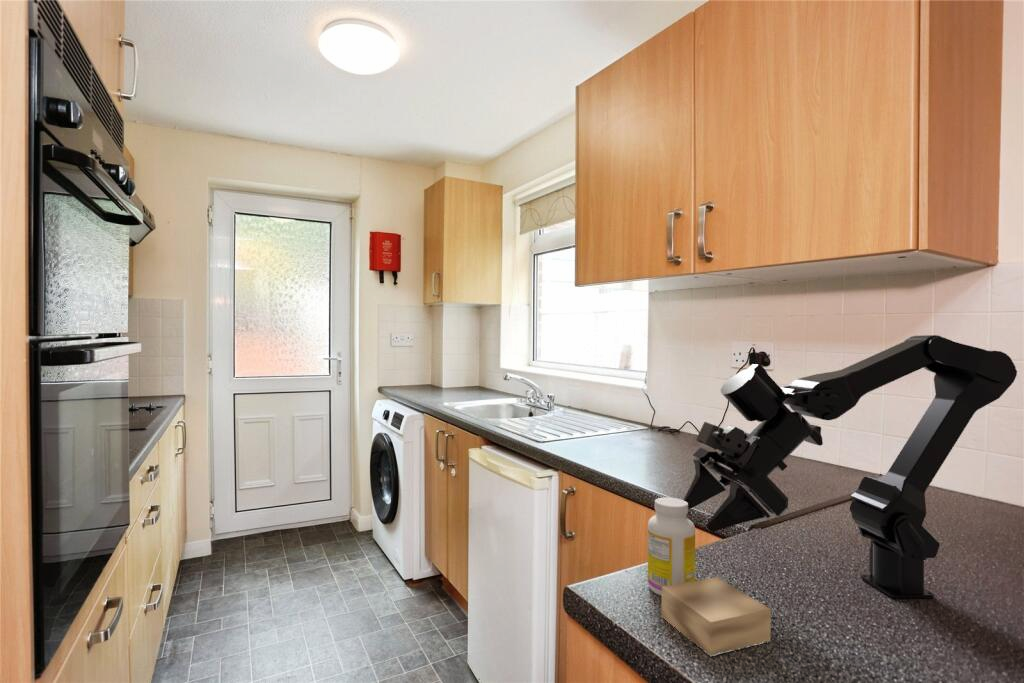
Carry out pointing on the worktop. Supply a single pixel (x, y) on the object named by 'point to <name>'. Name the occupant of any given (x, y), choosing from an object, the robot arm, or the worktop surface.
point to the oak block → (715, 615)
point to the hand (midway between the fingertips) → (695, 518)
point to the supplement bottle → (670, 545)
